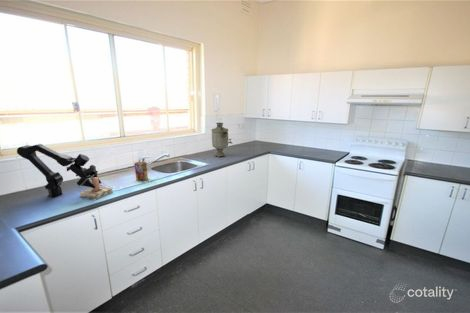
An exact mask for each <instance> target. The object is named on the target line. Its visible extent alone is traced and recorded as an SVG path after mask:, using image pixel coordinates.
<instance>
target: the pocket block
mask: <svg viewBox="0 0 470 313" xmlns="http://www.w3.org/2000/svg"><path fill="white" fill-rule="evenodd" d="M99 187H100V191H98V192H93V188H91V187H89V188H88V189H85V190H82V191H80V192H79V194H80V195H79V196H80V197H82V198H86V199H90V198H91V199H90V200H94V199H96V200H97V198H98V199H100V198H102V196H103V197H105V196H107V195H109V193H110V194H111V193H113V192H114V191H113V188H112V187H107V186H102V185H99ZM104 195H105V196H104ZM99 197H100V198H99Z"/></svg>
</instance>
